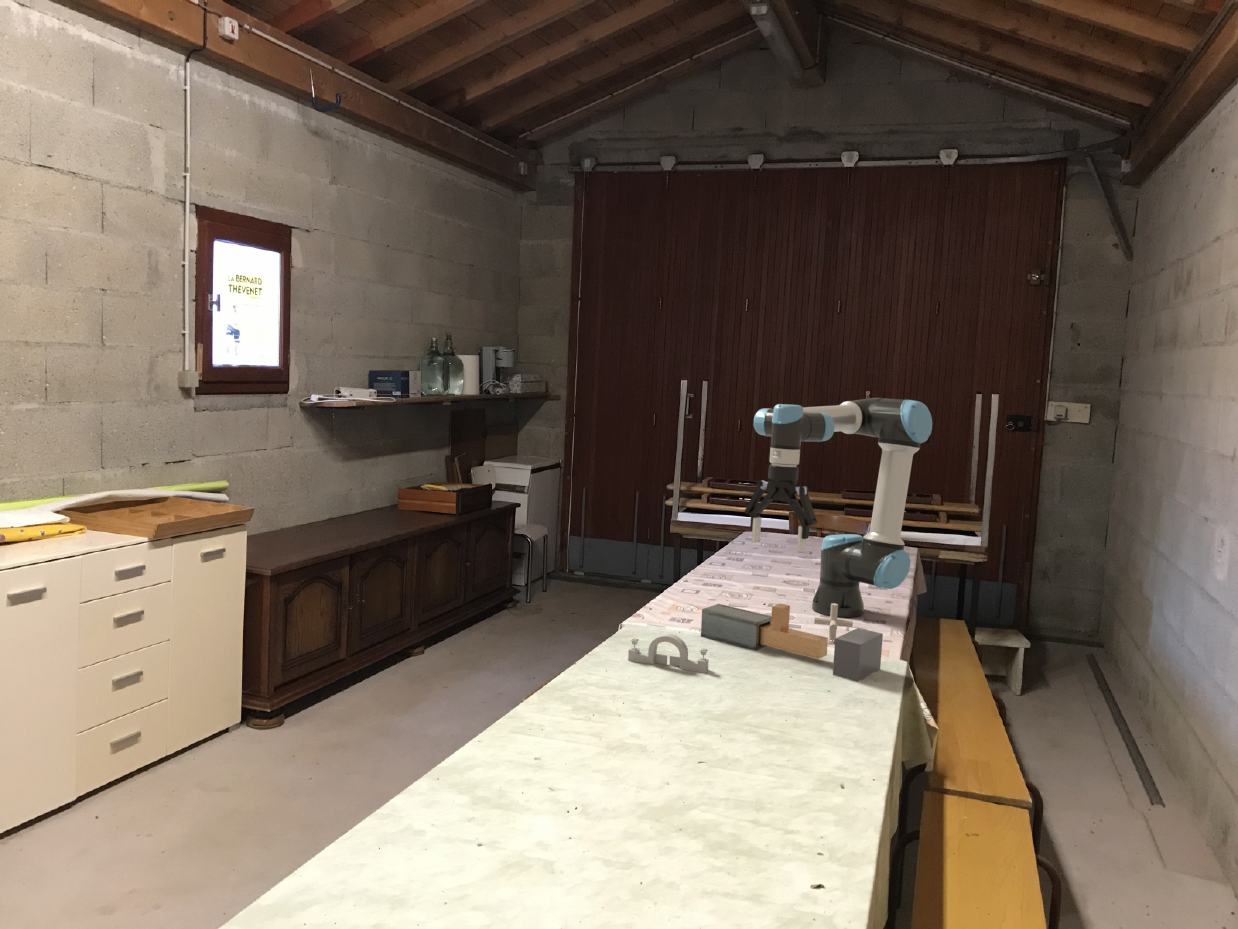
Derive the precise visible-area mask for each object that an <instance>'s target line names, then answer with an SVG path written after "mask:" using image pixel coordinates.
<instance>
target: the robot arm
mask: <svg viewBox="0 0 1238 929" xmlns="http://www.w3.org/2000/svg"><path fill="white" fill-rule="evenodd" d="M753 428H754V431H755V432H756V433H757V434H758V435H760V436H764V437H771V438H770V439H771V440H770V450H769V451H770V452H769V463H770V464H769V466H768V474H767V477H768V481H766V480H765V479H763V480H758V481H757V483H756V488H755V491H754V492H753V494H752V496H751V498H750V499H749V502H748V503H747V506H746V508H745V509H744V513H745V514H746V515H748V516H750V525H749V526H750V530H751V531H752V532H751V543H753V544H756V543H760V542H761V528H762V527H761V526H762V517H761V514H762V513H763V512H764V510H766V509H767V507H768V506H769V505H770V504H771V503H772V502H773V501H776V502H777V501H778V502H779V501H780V502H783V503H787V504H788V505H789V506H790V508H791V509H792V511H793V513H794V514H795V516H796V518H797V519H798V521H799V522H800V524H801V525H798V529H797V544H796V545H797V546H796V552H798V553H800V552H805V551H806V542H807V541H806V540H807V539H809V537H810V529H811V528H810V527H811V526H813V525H817V524H818V519H817V517H816V514H815V511H814V508H813V505H812V502H811V500H810V495H809V487H808V486H806V485H805V486H798V480H799V466H798V465H800V457H801V456H800V455H801V443H802V442H811V443H812V442H815V443H816V442H817V443H820V442H826V441H828V440H830V439H831V438H832V437H833V435H834V433H835V432H842V433H843V434H847V435H853V434H855V435H861V436H868V437H871V438H872V437H873V438H878V442H877V444H878V446H879V447H880V448H881V457H880V463H879V470H878V477H877V482H876V489H875V496H874V502H873V508H872V516H871V521H870V522H871V523H870V527H869V532H868V533H866V534H865V535H863V536H862V535H860V534H856V533H854V534H853V533H851V534H850V533H847V534H846V533H843V534H829V535H826V536H825V537H824V538H823V540H822V544H821V549H820V552H821V553H820V569H819V570H820V572H819V584H818V587H817V589H816V591H815V593H814V597H813V599H812V602H811V603H812V604H811V608H812V610H813V611H814V612H816V613H819V614H822V615H827V616H830V613H831V604H832V603H835V604H838V613H837V618H838V617H841V618H853V617H859V616H862V615H864V611H865V610H864V609H865V606H864V604H865V603H864V601H863V597H862V593H861V589H860V583H863V584H866V585H870V586H875V587H876V588H880V589H881V588H883V589H888V590H893V589H896V588H898V587H899V586H901V584H902V583H903V582H904V581H905V580H906V578H907V577H908V574H909V572H910V569H911V559H910V555H909V553H908V552H906V550H905V542H904V540H903V539H902V538H901V534H902V527H903V521H904V514H905V508H906V500H907V495H908V491H909V490H908V489H909V483H910V478H911V471H912V464H913V459H914V458H913V456H914V454H915V453H918V451H919V450H920V449H921V444H923V443H925V442H927V441H928V439H929V437H930V436H931V434H932V430H933V419H932V415H931V412H930V410H929V408H928V406H927V405H926V404H924V403H923V402H922V401H918V400H913V399H901V398H900V399H899V398H885V397H884V398H883V397H870V398H863V399H856V400H846V401H843V402H842V403H840V404H837V405H822V406H807V407H803V406H802V405H799V404H788V403H786V404H785V403H784V404H782V403H778V404H777V403H776V405H775V406H774V407H773V408H772V407H769V408H760V409H758V411H757V412H756V413H755V414H754V418H753ZM766 490H768V493H767V494H766V495H765V496H764V497H763V494H764V493H765V491H766ZM796 494H797V495H798V496H799V499H798V497H797V495H796ZM762 497H763V499H762ZM761 499H762V500H761ZM760 500H761V501H760ZM799 500H800V502H799Z"/></svg>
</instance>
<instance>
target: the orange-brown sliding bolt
mask: <svg viewBox="0 0 1238 929" xmlns="http://www.w3.org/2000/svg"><path fill="white" fill-rule="evenodd" d="M790 612H791V605H789V604H785V603H778V604H775V605H773V606H771V616H772V617H771V624H769V623H764V624H761V625H759V636H758V644H762V645H766V647H769V648H770V647H771V648H774V649H779V650H783V651H787V652H789V653H794V654H797V655H800V656H801V655H802V656H805V657H809V658H812V659H816V660H819V659H823V657H826V656H828V641H829V637H826V636H823V635H819V634H814V633H810V632H806V631H802V630H797V629H794V628H790Z"/></svg>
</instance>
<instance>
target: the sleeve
mask: <svg viewBox="0 0 1238 929" xmlns="http://www.w3.org/2000/svg"><path fill="white" fill-rule="evenodd" d="M771 617H772V615H768V614H764V613H760V612H756V611H755V612H754V611H751V610H747V609H744V608H743V609H742V608H738V607H734V606H730V605H726V604H721V603H717V604H714V605H710V606H707V607H704V608H702V609H701V621H700V622H701V623H700V624H701V626H700V637H701V638H706V639H709V640H713V641H716V642H721V643H723V644H724V643H725V644H727V645H731V646H736V647H740V648H743V649H748V650H751V651H755V652H756V651H759V650H761V649H763V648H765V647H767V646H766V645H762V644H758V636H759V625H761V624H764V623H769V624H771Z"/></svg>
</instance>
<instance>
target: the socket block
mask: <svg viewBox="0 0 1238 929" xmlns="http://www.w3.org/2000/svg"><path fill="white" fill-rule="evenodd" d="M883 635H884V634H883V633H881V632H877V631H873V630H869V629H864V628H861V627H860V628H859V627H857V628H855V629H853V630H850V631H849V632H846V633H844V634H842V635H840V636H836V638H835V642H834V652H833V668H832V675H833V676H835V677H840V678H844V679H848V680H851V681H855V682H859V681H862V680H864V679H865V678H867V677H868V676H870V675H872V674H874V673H876V672H878V671H879V670H881V665H882V664H881V663H882V653H883V652H882V650H883V637H884V636H883Z"/></svg>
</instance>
